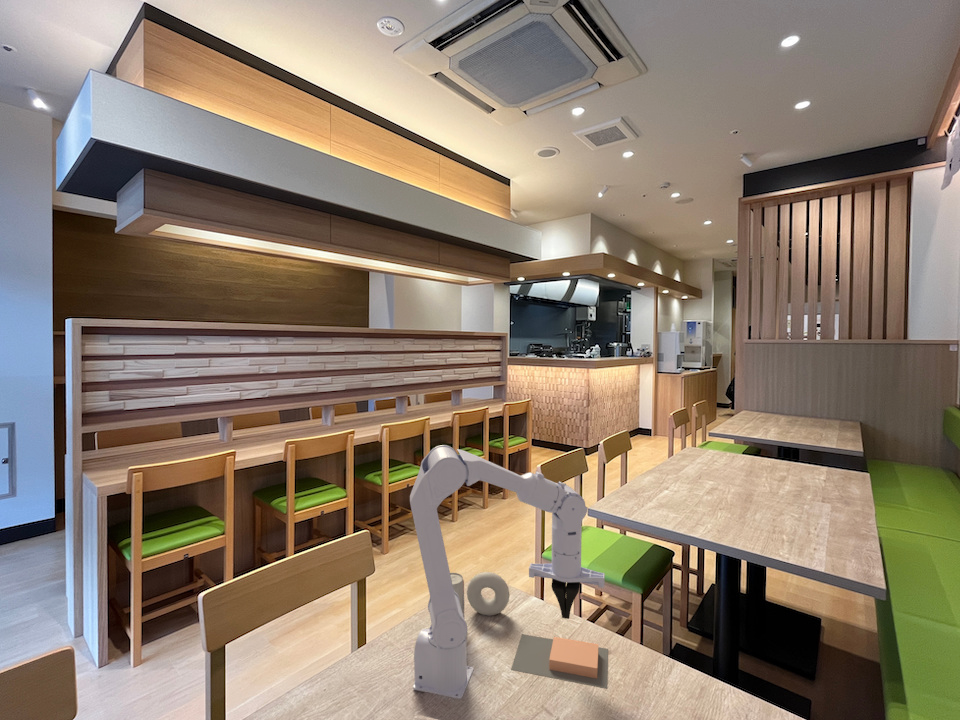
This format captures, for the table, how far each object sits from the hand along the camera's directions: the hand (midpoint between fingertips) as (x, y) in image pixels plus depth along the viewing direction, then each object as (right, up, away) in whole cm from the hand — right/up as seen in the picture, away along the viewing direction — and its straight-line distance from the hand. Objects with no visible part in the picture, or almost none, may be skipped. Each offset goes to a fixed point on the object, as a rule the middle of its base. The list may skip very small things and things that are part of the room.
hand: (566, 615), depth 93 cm
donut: (-15, -9, +16) cm, 24 cm away
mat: (-1, -10, +1) cm, 10 cm away
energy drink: (-23, -9, +10) cm, 27 cm away
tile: (-3, -8, +1) cm, 9 cm away
